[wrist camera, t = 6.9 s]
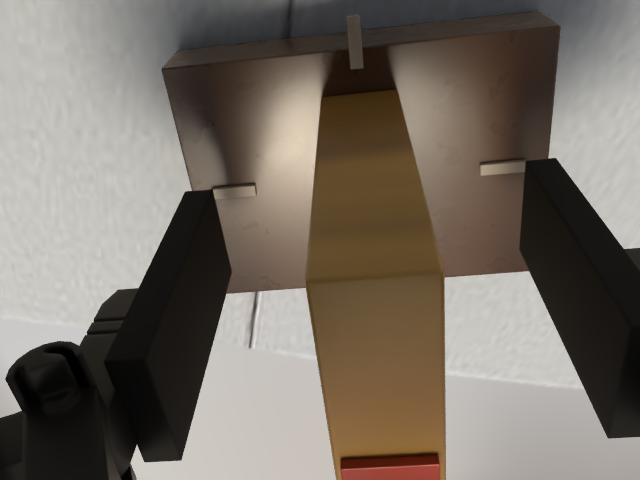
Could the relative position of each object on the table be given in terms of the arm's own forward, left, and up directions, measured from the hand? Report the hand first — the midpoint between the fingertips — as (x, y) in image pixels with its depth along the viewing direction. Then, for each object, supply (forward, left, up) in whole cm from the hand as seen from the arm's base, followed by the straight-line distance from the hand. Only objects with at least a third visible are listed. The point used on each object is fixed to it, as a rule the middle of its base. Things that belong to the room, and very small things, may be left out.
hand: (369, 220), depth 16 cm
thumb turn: (0, 0, -3) cm, 3 cm away
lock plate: (0, 0, -5) cm, 5 cm away
